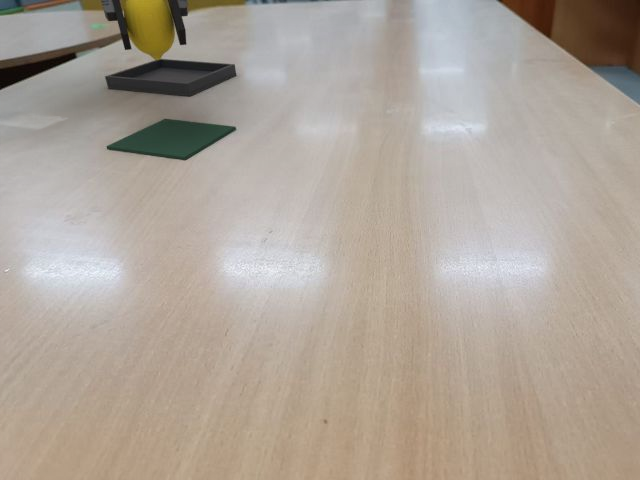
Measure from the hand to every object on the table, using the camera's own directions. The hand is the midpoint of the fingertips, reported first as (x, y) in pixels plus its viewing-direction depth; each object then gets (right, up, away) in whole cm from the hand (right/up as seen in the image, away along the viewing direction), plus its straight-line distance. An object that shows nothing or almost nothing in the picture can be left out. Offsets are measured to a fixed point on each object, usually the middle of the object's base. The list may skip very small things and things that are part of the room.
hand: (155, 39), depth 59 cm
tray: (-11, +8, +35) cm, 38 cm away
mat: (-1, -9, +10) cm, 13 cm away
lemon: (-1, -1, +5) cm, 5 cm away
